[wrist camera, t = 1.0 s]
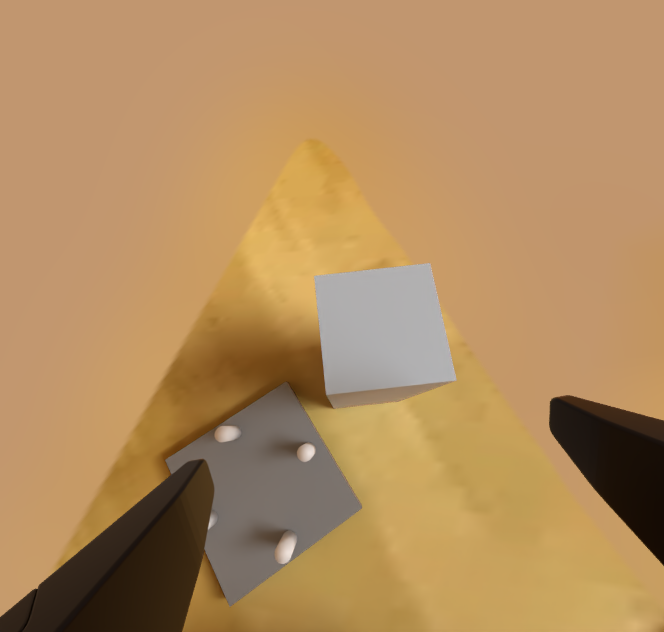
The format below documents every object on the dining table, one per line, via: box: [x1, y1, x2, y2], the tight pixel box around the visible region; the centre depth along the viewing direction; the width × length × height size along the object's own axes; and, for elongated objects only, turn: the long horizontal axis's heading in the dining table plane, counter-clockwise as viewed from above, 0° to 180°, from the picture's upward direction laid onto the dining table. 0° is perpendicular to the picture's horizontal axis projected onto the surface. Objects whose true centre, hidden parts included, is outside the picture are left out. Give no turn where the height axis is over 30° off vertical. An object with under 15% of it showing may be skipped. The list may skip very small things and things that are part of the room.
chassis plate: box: [165, 382, 362, 606], centre depth 22 cm, size 10×10×4 cm
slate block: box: [314, 263, 456, 409], centre depth 19 cm, size 5×5×13 cm
